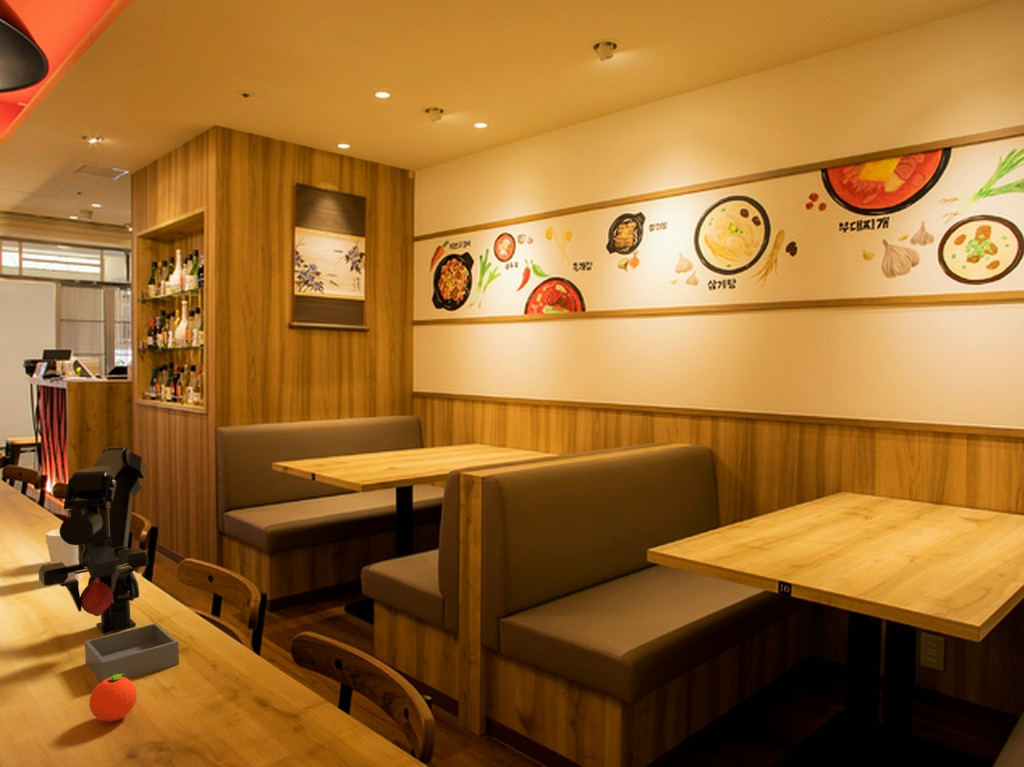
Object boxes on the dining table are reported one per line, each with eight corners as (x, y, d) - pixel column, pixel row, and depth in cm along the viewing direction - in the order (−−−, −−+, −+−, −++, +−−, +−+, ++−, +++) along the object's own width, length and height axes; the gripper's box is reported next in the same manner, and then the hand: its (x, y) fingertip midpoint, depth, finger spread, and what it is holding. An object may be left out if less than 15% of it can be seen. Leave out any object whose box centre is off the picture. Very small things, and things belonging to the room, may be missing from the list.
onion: (76, 622, 143) (75, 583, 142) (85, 612, 148) (84, 574, 148) (109, 619, 144) (107, 580, 144) (116, 609, 150) (115, 571, 149)
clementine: (106, 706, 124) (104, 666, 124) (147, 704, 124) (146, 664, 124) (81, 730, 116) (79, 688, 116) (125, 729, 116) (124, 686, 116)
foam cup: (74, 584, 187) (72, 536, 186) (39, 584, 187) (37, 536, 186) (96, 573, 196) (94, 526, 196) (63, 573, 197) (61, 526, 196)
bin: (85, 663, 140) (84, 641, 140) (157, 643, 150) (156, 622, 149) (103, 686, 131) (102, 662, 131) (179, 664, 140) (178, 641, 140)
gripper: (48, 549, 133) (52, 631, 134) (155, 530, 146) (158, 605, 147) (36, 537, 141) (40, 615, 142) (138, 521, 154) (141, 592, 155)
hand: (97, 607), depth 146 cm, fingers closed on onion, 6 cm apart
